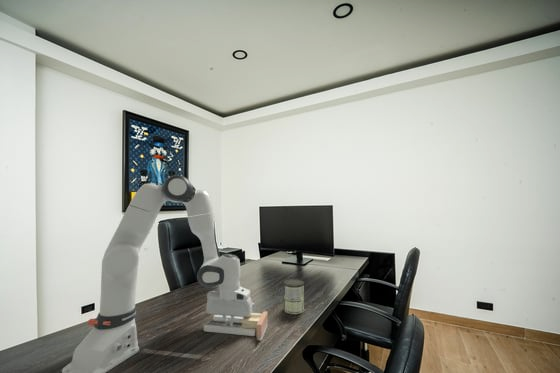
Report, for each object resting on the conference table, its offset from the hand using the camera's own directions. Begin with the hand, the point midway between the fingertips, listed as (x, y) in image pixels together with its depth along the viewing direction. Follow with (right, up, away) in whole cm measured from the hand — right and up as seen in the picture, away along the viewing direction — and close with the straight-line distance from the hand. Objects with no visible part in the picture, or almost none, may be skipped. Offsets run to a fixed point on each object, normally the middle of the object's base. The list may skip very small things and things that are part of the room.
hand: (228, 324), depth 103 cm
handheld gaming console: (0, -5, +24) cm, 25 cm away
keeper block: (+10, -1, -2) cm, 11 cm away
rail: (+3, -2, 0) cm, 4 cm away
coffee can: (+30, -4, +20) cm, 36 cm away
